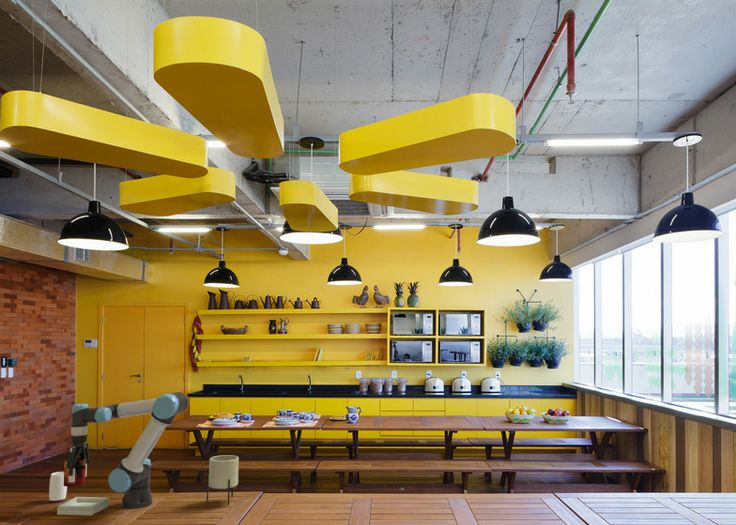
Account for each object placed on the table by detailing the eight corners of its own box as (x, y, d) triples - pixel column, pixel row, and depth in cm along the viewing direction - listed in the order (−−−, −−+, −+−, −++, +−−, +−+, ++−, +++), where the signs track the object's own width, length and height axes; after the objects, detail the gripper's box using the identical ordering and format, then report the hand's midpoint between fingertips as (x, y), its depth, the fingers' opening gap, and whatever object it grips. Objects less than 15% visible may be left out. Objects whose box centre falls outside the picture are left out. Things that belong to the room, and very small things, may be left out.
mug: (83, 486, 282) (84, 461, 283) (59, 486, 284) (59, 461, 285) (96, 481, 291) (96, 457, 293) (72, 481, 293) (72, 457, 295)
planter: (243, 500, 304) (245, 456, 307) (225, 508, 290) (226, 462, 293) (221, 497, 310) (222, 453, 313) (201, 504, 296) (203, 459, 299)
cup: (44, 502, 298) (46, 474, 299) (55, 498, 306) (57, 471, 308) (58, 503, 296) (60, 475, 298) (69, 499, 304) (71, 471, 306)
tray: (109, 505, 293) (109, 497, 293) (92, 515, 277) (92, 507, 278) (75, 504, 294) (76, 496, 295) (57, 514, 278) (57, 506, 279)
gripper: (84, 431, 302) (83, 474, 299) (58, 438, 280) (57, 485, 277) (97, 430, 302) (96, 474, 299) (73, 438, 279) (71, 485, 276)
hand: (77, 479), depth 288 cm, fingers closed on mug, 10 cm apart
